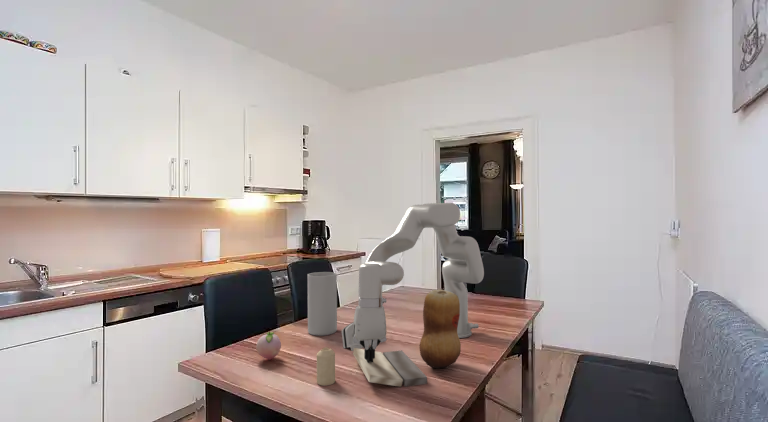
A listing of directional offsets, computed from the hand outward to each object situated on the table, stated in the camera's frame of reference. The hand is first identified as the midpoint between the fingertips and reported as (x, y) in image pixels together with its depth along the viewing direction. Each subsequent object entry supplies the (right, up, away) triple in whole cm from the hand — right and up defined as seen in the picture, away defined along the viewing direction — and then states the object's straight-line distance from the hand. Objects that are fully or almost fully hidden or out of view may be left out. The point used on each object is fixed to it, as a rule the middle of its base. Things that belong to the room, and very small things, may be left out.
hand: (369, 360), depth 123 cm
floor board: (+11, -4, +3) cm, 12 cm away
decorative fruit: (-36, -5, +13) cm, 39 cm away
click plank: (+2, -3, +1) cm, 3 cm away
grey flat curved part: (-4, -5, +30) cm, 31 cm away
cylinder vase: (-22, -5, +46) cm, 51 cm away
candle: (-13, -5, -5) cm, 15 cm away
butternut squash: (+23, -4, +6) cm, 24 cm away
